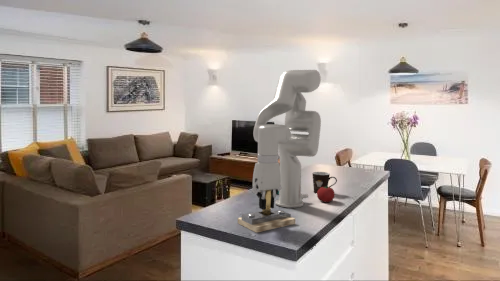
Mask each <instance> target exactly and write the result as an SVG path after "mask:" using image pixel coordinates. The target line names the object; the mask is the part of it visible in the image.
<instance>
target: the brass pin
mask: <svg viewBox="0 0 500 281" xmlns="http://www.w3.org/2000/svg"><path fill="white" fill-rule="evenodd" d="M264 199H266V209H265V210H263V209H261V211H262V214H263V215H265V216H266V215H271V210H272V208H271V190H267V191H265V198H264Z"/></svg>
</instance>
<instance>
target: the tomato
mask: <svg viewBox="0 0 500 281" xmlns="http://www.w3.org/2000/svg"><path fill="white" fill-rule="evenodd" d="M335 194H336V193H335V191H334V189H333V188H332V187H329V186H328V187H327V186H326V187H321V188H320V189H319V190H318V192H317V194H316V197H317V199H318V200H319V201H321V202H322V203H329V202H332V201H333V200H334V199H335V196H336V195H335Z"/></svg>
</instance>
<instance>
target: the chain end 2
mask: <svg viewBox="0 0 500 281" xmlns="http://www.w3.org/2000/svg"><path fill="white" fill-rule="evenodd" d="M274 211H275V212H277V213H280V217H275V218H270V219H265V220H264V222H268V221H273V220H278V219H283V218H287V217H292V215H291V213H290V212H286V211H284V210H281V209H278V210H274Z"/></svg>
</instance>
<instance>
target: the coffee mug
mask: <svg viewBox="0 0 500 281" xmlns="http://www.w3.org/2000/svg"><path fill="white" fill-rule="evenodd" d="M331 179H334V180H335V182H334V183H333V184H331V185H329V181H330V180H331ZM337 181H338V180H337V177H335V176H330V172H327V171H312V184H313V185H312V186H313V193H314V194H316V193H317V192H318V190H319V189H320V188H321V187H326V186H327V187H330V188H332V187H333V186H334V185H336V184H337Z"/></svg>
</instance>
